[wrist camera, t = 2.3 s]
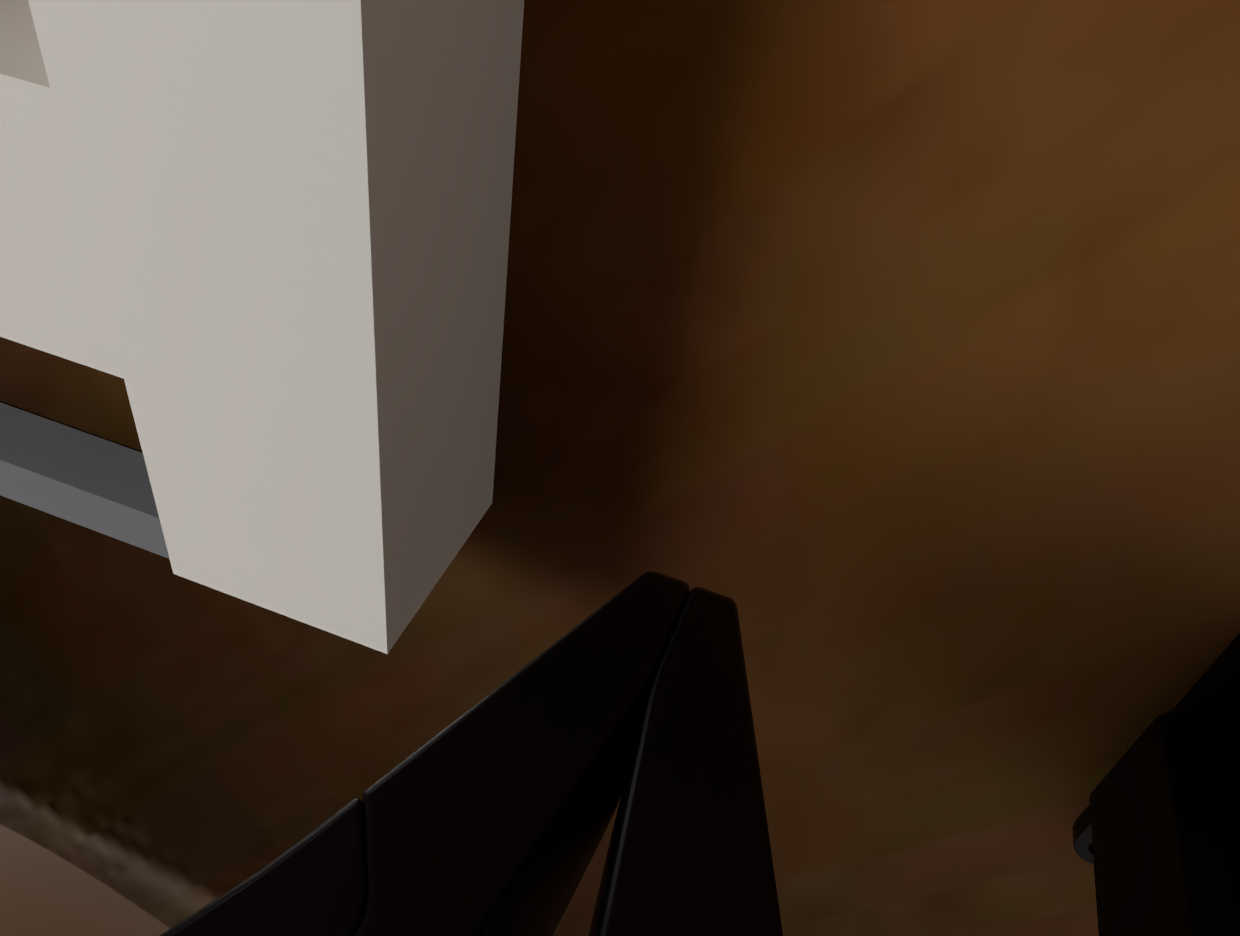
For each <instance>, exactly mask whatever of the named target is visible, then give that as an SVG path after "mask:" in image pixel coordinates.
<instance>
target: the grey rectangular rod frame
mask: <svg viewBox="0 0 1240 936" xmlns="http://www.w3.org/2000/svg"><path fill="white" fill-rule="evenodd" d="M0 495H1V496H4V497H6V498H9V499H12V500H14V501H17V502H20V503H22V504H25V505H28V506H30V507H33V508H36V509H38V510H41V511H44V512H46V513H49V514H52V515H54V516H57V517H60V518H62V519H65V520H68V521H70V522H73V523H76V524H78V525H81V526H84V527H86V528H89V529H92V530H94V531H97V532H100V533H102V534H105V535H108V536H110V537H113V538H116V539H118V540H121V541H124V542H126V543H129V544H132V545H134V546H137V547H140V548H142V549H145V550H148V551H150V552H153V553H155V554H158V555H161V556H163V557H166V558H169V555H168V551H167V547H166V543H165V539H164V535H163V531H162V527H161V523H160V519H159V515H158V511H157V507H156V503H155V499H154V495H153V491H152V488H151V484H150V480H149V476H148V472H147V468H146V464H145V460H144V456H143V453H141V452H138V451H136V450H133V449H130V448H127V447H124V446H122V445H119V444H116V443H113V442H110V441H107V440H105V439H102V438H99V437H96V436H93V435H91V434H88V433H85V432H82V431H79V430H77V429H74V428H71V427H68V426H65V425H63V424H60V423H57V422H54V421H51V420H48V419H46V418H43V417H40V416H37V415H34V414H32V413H29V412H26V411H23V410H20V409H18V408H15V407H12V406H9V405H6V404H4V403H1V402H0Z"/></svg>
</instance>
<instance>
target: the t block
mask: <svg viewBox="0 0 1240 936" xmlns="http://www.w3.org/2000/svg"><path fill="white" fill-rule="evenodd" d="M523 14H524V0H0V337H3V338H6V339H9V340H12V341H15V342H18V343H21V344H24V345H27V346H30V347H32V348H35V349H38V350H41V351H44V352H47V353H50V354H53V355H56V356H59V357H62V358H65V359H68V360H71V361H74V362H77V363H80V364H83V365H85V366H88V367H91V368H94V369H97V370H100V371H103V372H106V373H109V374H112V375H115V376H118V377H121V378H124V381H125V385H126V389H127V393H128V397H129V401H130V405H131V409H132V413H133V417H134V420H135V424H136V428H137V432H138V436H139V440H140V444H141V448H142V452H143V456H144V460H145V464H146V468H147V472H148V476H149V480H150V484H151V488H152V491H153V495H154V499H155V503H156V507H157V511H158V515H159V519H160V523H161V527H162V531H163V535H164V539H165V543H166V547H167V551H168V555H169V559H170V562H171V566H172V570H173V574H176V575H178V576H181V577H184V578H186V579H189V580H192V581H194V582H197V583H200V584H202V585H205V586H208V587H210V588H213V589H215V590H218V591H221V592H223V593H226V594H229V595H231V596H234V597H237V598H239V599H242V600H245V601H247V602H250V603H253V604H255V605H258V606H261V607H263V608H266V609H269V610H271V611H274V612H277V613H279V614H282V615H285V616H287V617H290V618H293V619H295V620H298V621H301V622H303V623H306V624H309V625H311V626H314V627H317V628H319V629H322V630H325V631H327V632H330V633H332V634H335V635H338V636H340V637H343V638H346V639H348V640H351V641H354V642H356V643H359V644H362V645H364V646H367V647H370V648H372V649H375V650H378V651H380V652H383V653H386V654H388V653H389V651H390V650H391V648H392V647H393V645H394V644H395V642H396V641H397V640H398V638H399V637H400V635H401V634H402V632H403V631H404V629H405V628H406V627H407V625H408V624H409V622H410V621H411V619H412V618H413V617H414V615H415V614H416V612H417V611H418V609H419V608H420V606H421V605H422V604H423V602H424V601H425V599H426V598H427V596H428V595H429V594H430V592H431V591H432V589H433V588H434V586H435V585H436V583H437V582H438V581H439V579H440V578H441V576H442V575H443V573H444V572H445V570H446V569H447V568H448V566H449V565H450V563H451V562H452V560H453V559H454V558H455V556H456V555H457V553H458V552H459V550H460V549H461V547H462V546H463V545H464V543H465V542H466V540H467V539H468V537H469V536H470V534H471V533H472V532H473V530H474V529H475V527H476V526H477V524H478V523H479V522H480V520H481V519H482V517H483V516H484V514H485V513H486V511H487V510H488V509H489V507H490V506H491V504H492V500H493V484H494V469H495V453H496V437H497V422H498V406H499V390H500V375H501V359H502V343H503V328H504V312H505V296H506V280H507V265H508V249H509V233H510V218H511V202H512V186H513V171H514V155H515V139H516V124H517V108H518V92H519V77H520V61H521V45H522V29H523Z"/></svg>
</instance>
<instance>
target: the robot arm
mask: <svg viewBox="0 0 1240 936" xmlns="http://www.w3.org/2000/svg"><path fill="white" fill-rule="evenodd" d="M689 592H690V593H689ZM621 795H622V796H621ZM620 798H621V800H620ZM619 800H620V803H619ZM1089 801H1090V805H1089V806H1088V807H1087V808H1086V809H1085V811H1084V812H1083V813H1082V814H1081V815H1080V816H1079V817H1078V819H1077V820H1076V821H1075V823H1074V825H1073V844H1074V849H1075V852H1076V853H1077V854H1078V855H1079V856H1080V857H1081V858H1082V859H1084V860H1086V861H1088V862H1090V863H1092V864H1094V872H1095V887H1096V901H1097V915H1098V929H1099V936H1240V634H1239V635H1238V636H1237V637H1236V638H1235V639H1234V640H1233V641H1232V643H1231V644H1230V645H1229V646H1228V647H1227V648H1226V649H1225V651H1224V652H1223V653H1222V654H1221V655H1220V656H1219V657H1218V659H1217V660H1216V661H1215V662H1214V663H1213V664H1212V665H1211V667H1210V668H1209V669H1208V670H1207V671H1206V672H1205V673H1204V675H1203V676H1202V677H1201V678H1200V679H1199V680H1198V681H1197V683H1196V684H1195V685H1194V686H1193V687H1192V688H1191V689H1190V691H1189V692H1188V693H1187V694H1186V695H1185V696H1184V697H1183V699H1182V700H1181V701H1180V702H1179V703H1178V704H1177V705H1176V707H1175V708H1174V709H1172V710H1170V711H1168V712H1166V713H1164V714H1162V715H1160V716H1158V717H1157V718H1156V719H1155V720H1154V721H1153V722H1152V723H1151V724H1150V725H1149V727H1148V728H1147V729H1146V730H1145V731H1144V732H1143V734H1142V735H1141V736H1140V737H1139V738H1138V739H1137V741H1136V742H1135V743H1134V744H1133V745H1132V746H1131V747H1130V749H1129V750H1128V751H1127V752H1126V753H1125V754H1124V756H1123V757H1122V758H1121V759H1120V760H1119V761H1118V763H1117V764H1116V765H1115V766H1114V767H1113V768H1112V769H1111V771H1110V772H1109V773H1108V774H1107V775H1106V776H1105V778H1104V779H1103V780H1102V781H1101V782H1100V783H1099V785H1098V786H1097V787H1096V788H1095V789H1094V790H1093V791H1092V793H1091V794H1090V800H1089ZM618 803H619V807H618V811H617V815H616V819H615V823H614V827H613V831H612V835H611V839H610V844H609V848H608V852H607V857H606V861H605V866H604V870H603V874H602V879H601V883H600V888H599V892H598V896H597V901H596V905H595V910H594V914H593V918H592V923H591V927H590V932H589V936H783V932H782V925H781V918H780V911H779V904H778V897H777V889H776V882H775V875H774V868H773V861H772V854H771V847H770V839H769V832H768V825H767V818H766V811H765V804H764V797H763V789H762V782H761V775H760V768H759V761H758V754H757V747H756V739H755V732H754V725H753V718H752V711H751V704H750V697H749V689H748V682H747V675H746V668H745V661H744V654H743V647H742V639H741V632H740V625H739V618H738V611H737V606H736V604H735V602H734V601H733V599H731V598H729V597H726V596H723V595H720V594H717V593H715V592H712V591H709V590H706V589H703V588H700V587H696V588H693V589H692V590H691V591H690V590H689V586H688V585H687V584H686V583H685V582H683V581H680V580H677V579H674V578H672V577H669V576H666V575H663V574H660V573H657V572H654V571H650V572H646V573H644V574H643V575H641V576H640V577H639V578H637V579H636V580H635V581H633V582H632V583H631V584H630V585H628V586H627V587H626V588H624V589H623V590H622V591H621V592H619V593H618V594H617V595H616V596H614V597H613V598H612V599H610V600H609V601H608V602H607V603H605V604H604V605H603V606H601V607H600V608H599V609H598V610H596V611H595V612H594V613H592V614H591V615H590V616H589V617H587V618H586V619H585V620H584V621H582V622H581V623H580V624H578V625H577V626H576V627H575V628H573V629H572V630H571V631H569V632H568V633H567V634H566V635H564V636H563V637H562V638H560V639H559V640H558V641H557V642H555V643H554V644H553V645H551V646H550V647H549V648H548V649H546V650H545V651H544V652H543V653H541V654H540V655H539V656H537V657H536V658H535V659H534V660H532V661H531V662H530V663H528V664H527V665H526V666H525V667H523V668H522V669H521V670H519V671H518V672H517V673H516V674H514V675H513V676H512V677H510V678H509V679H508V680H507V681H505V682H504V683H503V684H502V685H500V686H499V687H498V688H496V689H495V690H494V691H493V692H491V693H490V694H489V695H487V696H486V697H485V698H484V699H482V700H481V701H480V702H478V703H477V704H476V705H475V706H473V707H472V708H471V709H469V710H468V711H467V712H466V713H464V714H463V715H462V716H461V717H459V718H458V719H457V720H455V721H454V722H453V723H452V724H450V725H449V726H448V727H446V728H445V729H444V730H443V731H441V732H440V733H439V734H437V735H436V736H435V737H434V738H432V739H431V740H430V741H428V742H427V743H426V744H425V745H423V746H422V747H421V748H420V749H418V750H417V751H416V752H414V753H413V754H412V755H411V756H409V757H408V758H407V759H405V760H404V761H403V762H402V763H400V764H399V765H398V766H396V767H395V768H394V769H393V770H391V771H390V772H389V773H387V774H386V775H385V776H384V777H382V778H381V779H380V780H379V781H377V782H376V783H375V784H373V785H372V786H371V787H370V788H368V789H367V790H366V791H365V792H364V793H363V803H362V801H361V800H360V799H354V800H352V801H351V802H350V803H348V804H347V805H346V806H345V807H343V808H342V809H341V810H339V811H338V812H337V813H336V814H334V815H333V816H332V817H330V818H329V819H328V820H327V821H325V822H324V823H323V824H322V825H320V826H319V827H318V828H316V829H315V830H314V831H312V832H311V833H310V834H308V835H307V836H306V837H304V838H303V839H302V840H300V841H299V842H297V843H296V844H295V845H293V846H292V847H291V848H289V849H288V850H287V851H285V852H284V853H283V854H281V855H280V856H278V857H277V858H276V859H274V860H273V861H272V862H270V863H269V864H268V865H266V866H265V867H263V868H262V869H261V870H259V871H258V872H257V873H255V874H254V875H252V876H251V877H249V878H248V879H246V880H245V881H243V882H242V883H240V884H239V885H237V886H236V887H234V888H233V889H231V890H229V891H228V892H226V893H225V894H223V895H222V896H220V897H219V898H217V899H216V900H214V901H213V902H211V903H210V904H208V905H207V906H205V907H204V908H202V909H201V910H199V911H198V912H196V913H195V914H193V915H192V916H190V917H188V918H187V919H185V920H184V921H182V922H181V923H179V924H177V925H176V926H174V927H173V928H171V929H169V930H168V931H167V932H165V933H163V934H162V935H160V936H552V935H553V933H554V931H555V929H556V928H557V926H558V924H559V922H560V920H561V918H562V916H563V914H564V912H565V910H566V908H567V906H568V904H569V902H570V900H571V898H572V896H573V894H574V892H575V890H576V888H577V886H578V884H579V882H580V880H581V878H582V877H583V875H584V873H585V871H586V869H587V867H588V865H589V863H590V861H591V859H592V857H593V855H594V853H595V851H596V849H597V847H598V845H599V843H600V841H601V839H602V837H603V835H604V833H605V831H606V829H607V827H608V825H609V823H610V821H611V819H612V816H613V814H614V812H615V810H616V808H617V805H618Z"/></svg>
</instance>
